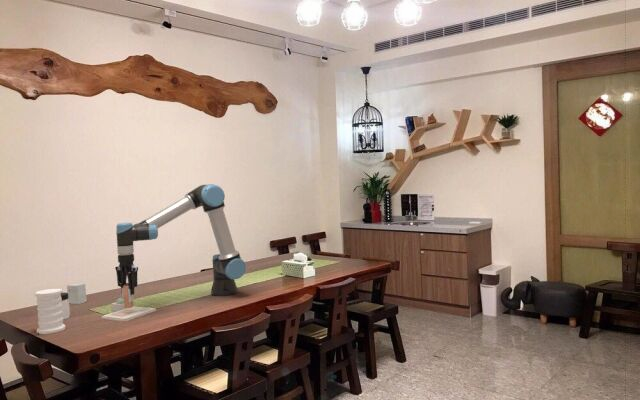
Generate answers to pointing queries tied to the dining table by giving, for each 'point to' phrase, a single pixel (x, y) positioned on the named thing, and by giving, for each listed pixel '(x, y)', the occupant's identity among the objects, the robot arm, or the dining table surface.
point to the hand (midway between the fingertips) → (128, 300)
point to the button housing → (117, 306)
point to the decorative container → (49, 311)
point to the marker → (127, 297)
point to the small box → (76, 293)
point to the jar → (65, 305)
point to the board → (128, 313)
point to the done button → (120, 301)
